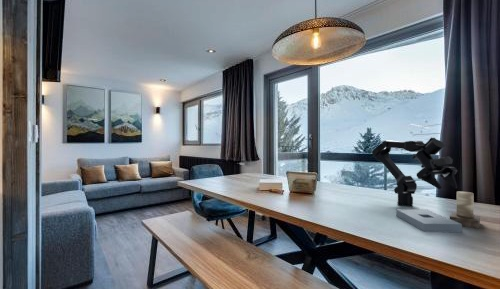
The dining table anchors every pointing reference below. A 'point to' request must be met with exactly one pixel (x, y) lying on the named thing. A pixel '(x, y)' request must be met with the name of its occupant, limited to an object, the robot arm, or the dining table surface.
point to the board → (428, 220)
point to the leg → (465, 204)
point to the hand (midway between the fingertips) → (448, 188)
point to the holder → (466, 220)
